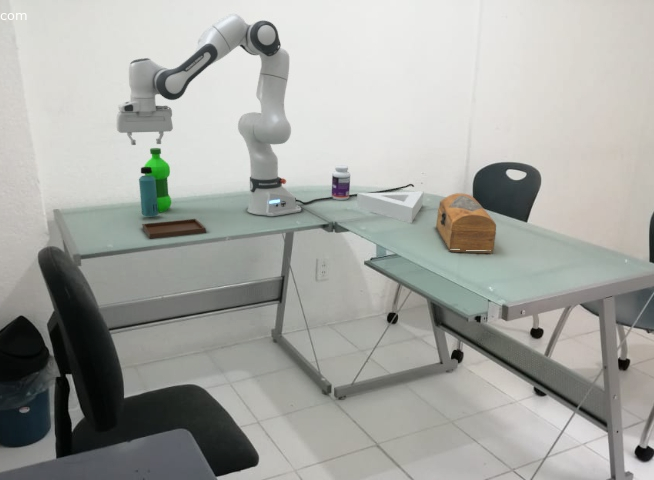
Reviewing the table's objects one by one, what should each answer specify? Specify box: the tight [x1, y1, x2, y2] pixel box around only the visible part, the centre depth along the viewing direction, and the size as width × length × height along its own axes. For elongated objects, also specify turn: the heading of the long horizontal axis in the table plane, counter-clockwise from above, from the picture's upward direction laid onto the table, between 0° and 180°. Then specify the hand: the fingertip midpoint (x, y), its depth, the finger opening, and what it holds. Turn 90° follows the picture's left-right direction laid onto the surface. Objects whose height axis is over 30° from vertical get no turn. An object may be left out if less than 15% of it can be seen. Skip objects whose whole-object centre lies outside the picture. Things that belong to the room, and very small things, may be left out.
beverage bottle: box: [138, 166, 159, 217], centre depth 234 cm, size 6×7×20 cm
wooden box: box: [435, 192, 497, 254], centre depth 217 cm, size 30×16×14 cm, turn 176°
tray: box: [141, 218, 206, 240], centre depth 223 cm, size 20×13×2 cm, turn 115°
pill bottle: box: [331, 165, 351, 201], centre depth 270 cm, size 8×8×14 cm
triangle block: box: [356, 190, 424, 224], centre depth 256 cm, size 30×26×6 cm
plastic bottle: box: [143, 147, 172, 213], centre depth 244 cm, size 10×10×25 cm
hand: (146, 144), depth 227 cm, fingers open, 8 cm apart
